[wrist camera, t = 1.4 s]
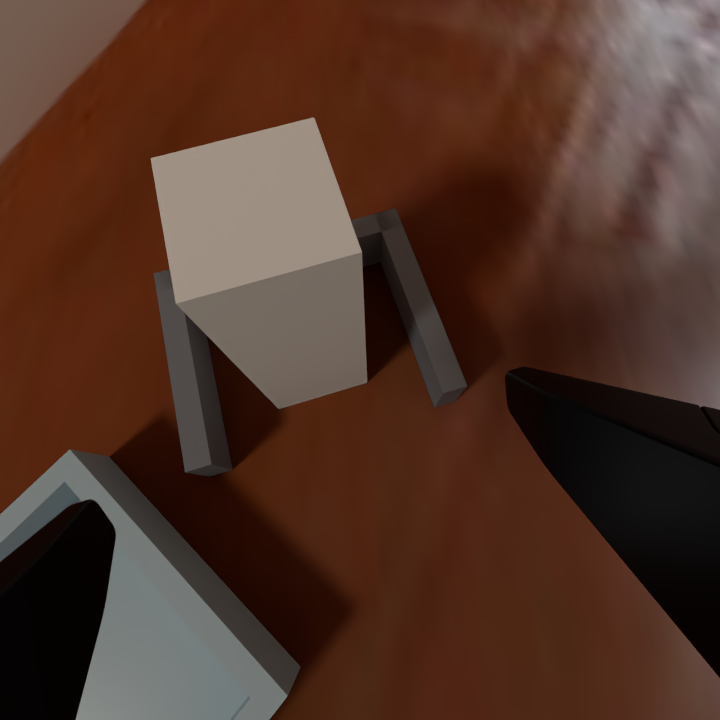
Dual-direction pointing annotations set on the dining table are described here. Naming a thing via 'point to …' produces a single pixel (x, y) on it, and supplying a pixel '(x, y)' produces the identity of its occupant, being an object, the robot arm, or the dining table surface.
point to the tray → (157, 611)
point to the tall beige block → (267, 259)
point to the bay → (194, 366)
